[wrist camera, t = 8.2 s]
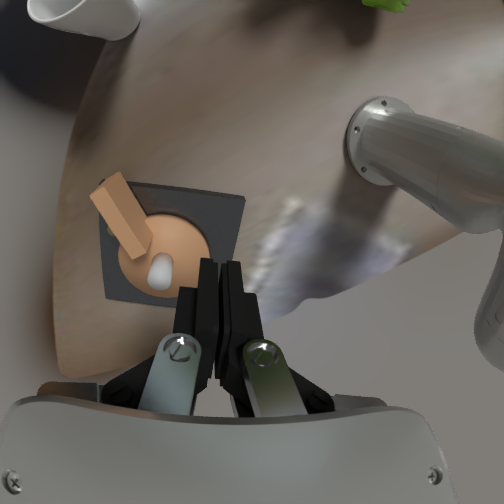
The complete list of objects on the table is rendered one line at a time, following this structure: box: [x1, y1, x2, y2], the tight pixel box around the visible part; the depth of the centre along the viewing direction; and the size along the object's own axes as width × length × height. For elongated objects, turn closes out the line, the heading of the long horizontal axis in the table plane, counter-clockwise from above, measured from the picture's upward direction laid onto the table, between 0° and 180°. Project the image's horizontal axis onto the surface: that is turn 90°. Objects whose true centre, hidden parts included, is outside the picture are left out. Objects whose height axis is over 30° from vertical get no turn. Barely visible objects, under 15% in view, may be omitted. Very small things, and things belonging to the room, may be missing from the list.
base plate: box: [99, 179, 246, 307], centre depth 34 cm, size 18×18×6 cm
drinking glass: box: [27, 0, 141, 41], centre depth 14 cm, size 7×7×15 cm
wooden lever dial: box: [90, 171, 210, 298], centre depth 31 cm, size 12×18×6 cm, turn 22°
